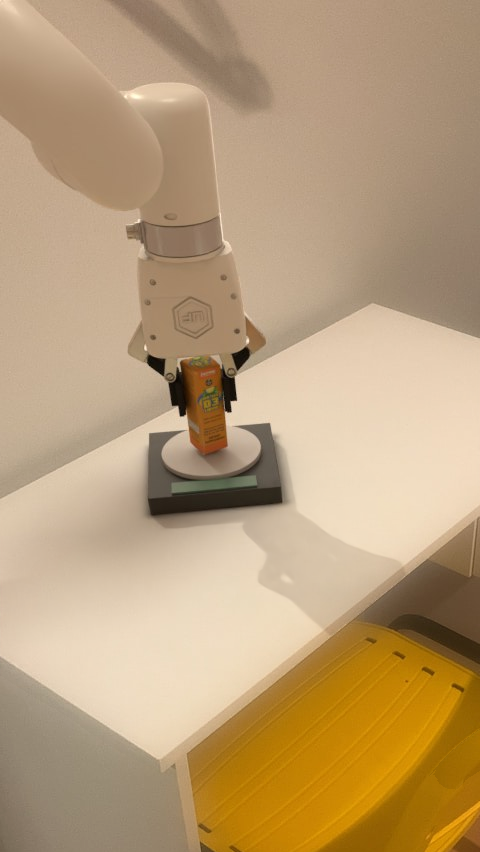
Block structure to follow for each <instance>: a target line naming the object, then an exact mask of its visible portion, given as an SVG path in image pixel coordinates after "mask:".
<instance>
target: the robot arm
mask: <svg viewBox="0 0 480 852" xmlns="http://www.w3.org/2000/svg"><path fill="white" fill-rule="evenodd" d="M0 117H1V118H3V119H4V120H5V121H6V122H8V123H9V124H10V126H13V127H14V128H15V129H16V130H17V131H19V133H21V134H22V135H23V136H24V137H25V138H27V139H28V140H29V141H30V144H31V148H32V151H33V154H34V155H35V158H36V159H37V161H38V162H39V163H40V165H41V166H42V168H43V169H44V170H45V171H46V172H47V173H49V175H50V176H52V177H53V178H55V180H58V181H59V182H61V183H62V184H64V185H66V186H67V187H69V188H70V189H72V191H75V192H77V193H79V194H81V195H82V196H84V197H85V198H87V199H88V200H90V201H92V202H93V203H95V204H96V205H98V206H100V207H102V208H104V209H106V210H111V211H114V212H115V211H116V212H127V211H135V210H137V209H138V214H139V218H137V221H135V222H133V223H132V224H131V223H130V224H125V230H126V231H125V232H126V237H127V240H128V241H129V240H135V241H136V242H138V241H140V244H141V245H142V244H143V245H142V246H141V247H140V248H139V250H138V253H137V264H136V265H137V267H136V268H137V270H136V272H137V273H136V274H137V289H138V290H137V291H138V299H139V311H140V317H141V318H140V319H141V320H140V322H139V324H138V326H137V327H136V329H135V331H134V333H133V335H132V337H131V338H130V340H129V343H128V345H127V354H128V355H129V356H130V357H132V358H133V359H135V360H137V361H140V363H141V362H142V363H144V364H146V365H147V366H148V367H150V368H151V369H152V370H153V371H155V373H158V374H159V375H160V376H162V377H163V379H164V380H165V382H167V384H168V390H169V397H170V404H171V407H178V409H177V410H178V415H179V418H180V417H181V418H183V417H185V416H187V412H186V403H185V396H184V389H183V381H182V374H181V371H180V367H178V360H179V359H184V358H185V359H187V358H193V357H199V356H211V357H212V356H219V359H220V362H221V380H222V388H223V399H224V409H225V413H227V414H231V413H232V412H233V411H232V410H233V409H232V402H238V395H237V384H236V376H237V375H238V372H239V370H240V369H241V368H242V367H243V366H244V365H245V364H246V362H248V360H249V359H250V358H251V356H252V355H254V354H256V353H257V352H258V351H260V350H261V349H262V348H263V347H265V346H266V344H267V340H266V339H267V338H266V335H265V334H264V333H263V331H262V330H261V329H260V328H259V326H258V325H257V324H256V323H255V322H254V321H253V319H252V318H251V317H250V315H248V314H247V312H246V311H245V306H244V299H243V293H242V285H241V280H240V274H239V270H238V265H237V260H236V258H235V254H234V251H233V248H232V246H231V244H230V242H228V241H227V240H225V239H224V233H223V222H222V214H221V213H222V212H221V202H220V193H219V184H218V175H217V164H216V153H215V145H214V135H213V134H214V133H213V125H212V124H213V123H212V114H211V107H210V103H209V100H208V97H207V96H206V94H205V92H204V91H203V90H202V89H201V88H199V87H198V86H195V85H192V84H189V83H185V82H176V81H175V82H173V81H170V82H169V81H166V82H154V83H148V84H143V85H140V86H137V87H135V88H133V89H130V90H119V89H117V87H116V86H115V85H114V84H113V83H112V82H111V81H110V80H109V79H108V78H107V77H106V76H105V74H103V73H102V71H101V70H100V69H99V68H98V67H97V66H96V65H95V64H94V63H92V61H91V60H90V59H89V58H88V57H86V55H85V54H84V53H82V51H80V49H79V48H77V46H76V45H75V44H73V43H72V42H71V41H70V40H69V39H68V38H67V37H66V36H65V35H64V34H63V33H62V32H61V31H60V30H58V29H57V28H56V27H55V26H54V25H53V24H52V23H51V22H50V21H48V20H47V18H46V17H44V16H43V15H42V14H41V13H40V12H39V11H38V10H37V9H36V8H35V7H34V6H33V5H32V4H31V3H29V1H28V0H0Z"/></svg>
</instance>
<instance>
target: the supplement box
mask: <svg viewBox="0 0 480 852" xmlns="http://www.w3.org/2000/svg"><path fill="white" fill-rule="evenodd" d="M179 366H180V367H179V368H180V372H181V374H182V381H183V389H184V396H185V403H186V418H187V426H188V430H189V435H190V442H191V444H192V445H193V446H194V447H195V448H197V449H198V450H199V451H200V452H201V453H202V454H204V455H205V454H208V453H211V452H214V451H217V450H219V449H222V448H225V447H228V442H227V431H226V426H227V420H226V412H225V406H224V397H223V388H222V380H221V369H222V367H221V365H220V363H219V362H218V361H217V360H215V359H214V358H213V357H212V356H199V357H189V358H185V359H184V358H183V359H182V360H180V361H179Z"/></svg>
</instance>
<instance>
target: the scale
mask: <svg viewBox="0 0 480 852" xmlns="http://www.w3.org/2000/svg"><path fill="white" fill-rule="evenodd" d="M226 431H227V442H228V447H225V448H222V449H219V450H217V451H214V452H211V453H208V454H205V455H204V454H202V453H201V452H200V451H199V450H198V449H197V448H195V447H194V446H193V445H192V444H191V442H190V435H189V429H182V430H181V429H180V430H171V431H160V432H159V431H157V432H149V433H148V473H147V474H148V475H147V476H148V477H147V502H148V507H149V512H150V515H152V516H153V515H162V514H163V515H164V514H173V513H184V512H192V511H193V512H195V511H204V510H206V511H207V510H214V509H215V510H217V509H226V508H237V507H246V506H248V507H249V506H258V505H269V504H279V503H283V491H282V484H281V483H282V482H281V479H280V478H281V477H280V472H279V466H278V461H277V454H276V449H275V444H274V443H275V442H274V438H273V432H272V425H271V423H270V422H265V423H264V422H263V423H253V424H239V425H226Z"/></svg>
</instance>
